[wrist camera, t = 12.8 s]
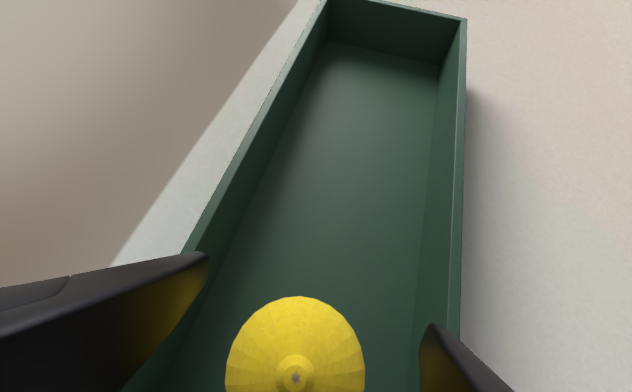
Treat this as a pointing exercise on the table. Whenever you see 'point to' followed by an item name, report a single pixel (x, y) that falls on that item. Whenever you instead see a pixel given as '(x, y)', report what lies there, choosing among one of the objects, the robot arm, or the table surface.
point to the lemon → (295, 350)
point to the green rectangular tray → (339, 198)
